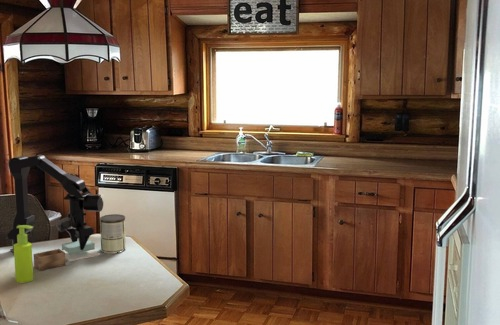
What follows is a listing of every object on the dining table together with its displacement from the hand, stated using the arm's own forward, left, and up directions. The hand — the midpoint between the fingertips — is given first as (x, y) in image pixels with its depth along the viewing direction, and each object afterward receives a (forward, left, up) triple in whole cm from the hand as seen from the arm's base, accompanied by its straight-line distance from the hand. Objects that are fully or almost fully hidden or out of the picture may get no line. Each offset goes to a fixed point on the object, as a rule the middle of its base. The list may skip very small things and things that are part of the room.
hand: (78, 247), depth 226 cm
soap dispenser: (+15, -26, -3) cm, 30 cm away
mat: (0, 0, -3) cm, 3 cm away
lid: (0, 0, 0) cm, 0 cm away
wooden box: (+6, -14, -3) cm, 16 cm away
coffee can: (+3, +14, -3) cm, 15 cm away
